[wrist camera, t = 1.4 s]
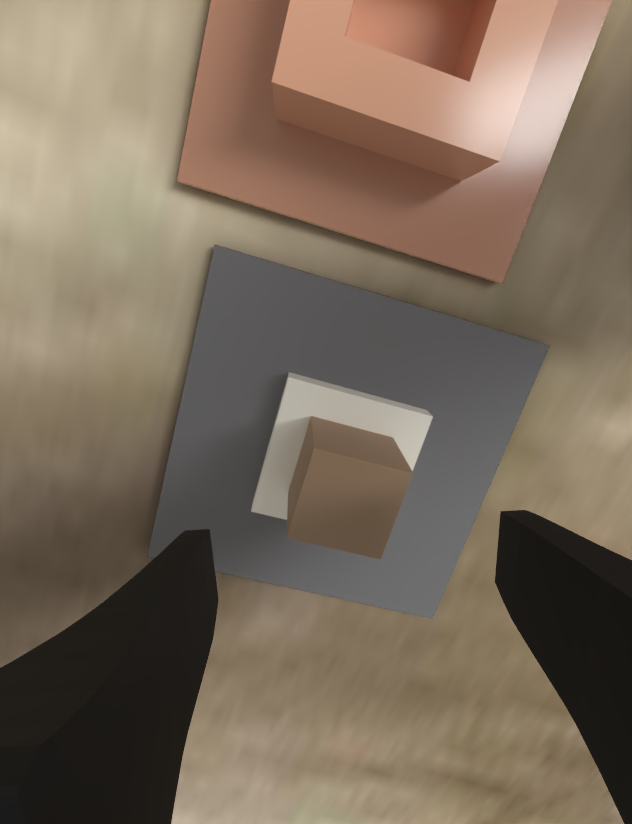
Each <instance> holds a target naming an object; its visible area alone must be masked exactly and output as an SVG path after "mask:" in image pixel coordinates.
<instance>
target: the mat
mask: <svg viewBox="0 0 632 824" xmlns="http://www.w3.org/2000/svg"><path fill="white" fill-rule="evenodd" d="M548 349H549V345H546V344H543V343H539V342H536V341H533V340H529V339H526V338H523V337H519V336H516V335H513V334H509V333H506V332H503V331H499V330H496V329H493V328H490V327H486V326H483V325H480V324H476V323H473V322H470V321H466V320H463V319H460V318H456V317H453V316H450V315H446V314H443V313H440V312H436V311H433V310H430V309H427V308H423V307H420V306H417V305H413V304H410V303H407V302H403V301H400V300H397V299H393V298H390V297H387V296H383V295H380V294H377V293H374V292H370V291H367V290H364V289H360V288H357V287H354V286H350V285H347V284H344V283H340V282H337V281H334V280H330V279H327V278H324V277H321V276H317V275H314V274H311V273H307V272H304V271H301V270H297V269H294V268H291V267H287V266H284V265H281V264H277V263H274V262H271V261H268V260H264V259H261V258H258V257H254V256H251V255H248V254H244V253H241V252H238V251H234V250H231V249H228V248H224V247H221V246H218V245H215V246H214V250H213V255H212V259H211V264H210V269H209V273H208V278H207V282H206V287H205V292H204V296H203V301H202V306H201V310H200V315H199V319H198V324H197V329H196V333H195V338H194V342H193V347H192V352H191V356H190V361H189V365H188V370H187V375H186V379H185V384H184V388H183V393H182V398H181V402H180V407H179V412H178V416H177V421H176V425H175V430H174V435H173V439H172V444H171V448H170V453H169V458H168V462H167V467H166V471H165V476H164V481H163V485H162V490H161V495H160V499H159V504H158V508H157V513H156V518H155V522H154V527H153V531H152V536H151V541H150V545H149V550H148V554H147V557H152V558H155V557H156V556H158V555H159V554H160V553H161V552H162V551H163V550H164V549H165V548H166V547H167V546H168V545H169V544H170V543H171V542H172V541H173V540H175V539H176V538H177V537H178V536H179V535H180V534H181V533H182V532H184V531H185V530H201V529H210V535H211V543H212V552H213V560H214V568H215V571H216V572H221V573H225V574H230V575H234V576H239V577H243V578H248V579H253V580H257V581H262V582H266V583H271V584H276V585H280V586H285V587H289V588H294V589H298V590H303V591H308V592H312V593H317V594H321V595H326V596H330V597H335V598H340V599H344V600H349V601H353V602H358V603H363V604H367V605H372V606H376V607H381V608H385V609H390V610H395V611H399V612H404V613H408V614H413V615H418V616H422V617H427V618H431V619H432V618H433V616H434V614H435V611H436V609H437V607H438V604H439V602H440V600H441V597H442V595H443V593H444V590H445V588H446V586H447V583H448V581H449V579H450V576H451V574H452V572H453V569H454V567H455V565H456V562H457V560H458V558H459V555H460V553H461V551H462V548H463V546H464V544H465V542H466V539H467V537H468V535H469V532H470V530H471V528H472V525H473V523H474V521H475V518H476V516H477V514H478V511H479V509H480V507H481V504H482V502H483V500H484V497H485V495H486V493H487V490H488V488H489V486H490V483H491V481H492V479H493V476H494V474H495V472H496V470H497V467H498V465H499V463H500V460H501V458H502V456H503V453H504V451H505V449H506V446H507V444H508V442H509V439H510V437H511V435H512V432H513V430H514V428H515V425H516V423H517V421H518V418H519V416H520V414H521V411H522V409H523V407H524V404H525V402H526V400H527V398H528V395H529V393H530V391H531V388H532V386H533V384H534V381H535V379H536V377H537V374H538V372H539V370H540V367H541V365H542V363H543V360H544V358H545V356H546V353H547V351H548ZM289 372H290V373H294V374H298V375H301V376H305V377H309V378H312V379H316V380H319V381H323V382H327V383H330V384H334V385H338V386H341V387H345V388H349V389H352V390H356V391H360V392H363V393H367V394H370V395H374V396H378V397H381V398H385V399H389V400H392V401H396V402H400V403H403V404H407V405H411V406H414V407H418V408H421V409H425V410H427V411H428V412H429V413H430V414H431V415H432V416H433V418H432V421H431V424H430V426H429V429H428V431H427V434H426V437H425V439H424V442H423V445H422V447H421V450H420V453H419V455H418V458H417V461H416V463H415V466H414V469H413V471H412V472H413V475H412V478H411V481H410V483H409V486H408V489H407V491H406V494H405V497H404V499H403V502H402V504H401V507H400V510H399V512H398V515H397V518H396V520H395V523H394V526H393V528H392V531H391V534H390V536H389V539H388V542H387V544H386V547H385V549H384V552H383V555H382V557H381V559H376V558H372V557H368V556H363V555H359V554H355V553H350V552H346V551H342V550H338V549H333V548H329V547H325V546H320V545H316V544H312V543H307V542H303V541H299V540H294V539H290V538H287V520H285V519H281V518H276V517H272V516H268V515H264V514H259V513H255V512H251V509H252V503H253V499H254V495H255V492H256V488H257V484H258V481H259V477H260V474H261V470H262V467H263V463H264V459H265V456H266V452H267V449H268V445H269V441H270V438H271V434H272V431H273V427H274V424H275V420H276V416H277V413H278V409H279V406H280V402H281V398H282V395H283V391H284V388H285V384H286V380H287V377H288V373H289Z"/></svg>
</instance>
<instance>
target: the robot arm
mask: <svg viewBox="0 0 632 824" xmlns="http://www.w3.org/2000/svg"><path fill="white" fill-rule="evenodd" d="M495 583H496V585H497V588H498V590H499V592H500V595H501V597H502V599H503V602H504V604H505V606H506V608H507V610H508V612H509V614H510V617H511V619H512V620H513V622H514V624H515V625H516V627H517V629H518V630H519V632H520V634H521V635H522V637H523V639H524V640H525V642H526V643H527V645H528V647H529V648H530V650H531V651H532V653H533V655H534V656H535V658H536V659H537V661H538V663H539V664H540V666H541V667H542V669H543V671H544V672H545V674H546V675H547V677H548V679H549V680H550V682H551V683H552V685H553V687H554V688H555V690H556V691H557V693H558V695H559V696H560V698H561V699H562V701H563V703H564V704H565V706H566V708H567V709H568V711H569V713H570V715H571V716H572V718H573V720H574V722H575V723H576V725H577V727H578V729H579V731H580V733H581V735H582V737H583V739H584V741H585V743H586V745H587V747H588V749H589V751H590V753H591V755H592V757H593V759H594V761H595V763H596V765H597V767H598V769H599V771H600V773H601V775H602V777H603V779H604V781H605V783H606V786H607V788H608V790H609V792H610V794H611V796H612V798H613V800H614V802H615V805H616V807H617V809H618V811H619V813H620V815H621V817H622V819H623V822H624V824H632V560H630V559H628V558H625V557H623V556H621V555H619V554H617V553H615V552H612V551H610V550H608V549H606V548H604V547H602V546H600V545H598V544H596V543H594V542H592V541H590V540H588V539H586V538H584V537H582V536H580V535H578V534H576V533H574V532H572V531H570V530H568V529H566V528H564V527H562V526H560V525H557V524H555V523H553V522H551V521H549V520H547V519H545V518H543V517H541V516H539V515H536V514H534V513H532V512H529V511H526V510H518V511H501V515H500V527H499V539H498V551H497V564H496V576H495ZM217 606H218V593H217V585H216V576H215V568H214V560H213V552H212V543H211V535H210V529H201V530H185V531H184V532H182V533H181V534H180V535H179V536H178V537H177V538H176V539H175V540H173V541H172V542H171V543H170V544H169V545H168V546H167V547H166V548H165V549H164V550H163V551H162V552H161V553H160V554H159V555H158V556H156V557H155V558H154V559H153V560H152V561H151V562H150V563H149V564H148V565H147V566H146V567H144V568H143V569H142V570H141V571H140V572H139V573H138V574H137V575H136V576H134V577H133V578H132V579H131V580H130V581H128V582H127V583H126V584H125V585H124V586H122V587H121V588H120V589H119V590H117V591H116V592H115V593H114V594H113V595H111V596H110V597H109V598H108V599H107V600H105V601H104V602H103V603H102V604H100V605H99V606H98V607H96V608H95V609H94V610H92V611H91V612H90V613H88V614H87V615H85V616H84V617H83V618H81V619H80V620H78V621H77V622H75V623H74V624H72V625H71V626H69V627H68V628H67V629H65V630H64V631H62V632H61V633H59V634H57V635H56V636H54V637H53V638H51V639H49V640H48V641H46V642H44V643H43V644H41V645H39V646H38V647H36V648H34V649H32V650H31V651H29V652H27V653H26V654H24V655H22V656H21V657H19V658H17V659H16V660H14V661H12V662H10V663H9V664H7V665H5V666H3V667H1V668H0V824H171V820H172V814H173V808H174V802H175V796H176V790H177V785H178V779H179V773H180V767H181V761H182V756H183V751H184V747H185V742H186V738H187V734H188V730H189V726H190V722H191V719H192V715H193V711H194V708H195V704H196V700H197V696H198V693H199V689H200V685H201V682H202V678H203V674H204V671H205V667H206V663H207V659H208V656H209V652H210V648H211V644H212V640H213V635H214V628H215V621H216V614H217Z"/></svg>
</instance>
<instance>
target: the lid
mask: <svg viewBox="0 0 632 824" xmlns="http://www.w3.org/2000/svg"><path fill="white" fill-rule="evenodd" d="M432 418H433V416H432V415H431V414H430V413H429V412H428V411H427V410H425V409H421V408H418V407H414V406H411V405H407V404H403V403H400V402H396V401H392V400H389V399H385V398H381V397H378V396H374V395H370V394H367V393H363V392H360V391H356V390H352V389H349V388H345V387H341V386H338V385H334V384H330V383H327V382H323V381H319V380H316V379H312V378H309V377H305V376H301V375H298V374H294V373H290V372H289V373H288V377H287V380H286V384H285V388H284V391H283V395H282V398H281V402H280V406H279V409H278V413H277V416H276V420H275V424H274V427H273V431H272V434H271V438H270V441H269V445H268V449H267V452H266V456H265V459H264V463H263V467H262V470H261V474H260V477H259V481H258V484H257V488H256V492H255V495H254V499H253V503H252V509H251V512H255V513H259V514H264V515H268V516H272V517H276V518H281V519H285V520H287V538H290V539H294V540H299V541H303V542H307V543H312V544H316V545H320V546H325V547H329V548H333V549H338V550H342V551H346V552H350V553H355V554H359V555H363V556H368V557H372V558H376V559H381V557H382V555H383V552H384V549H385V547H386V544H387V542H388V539H389V536H390V534H391V531H392V528H393V526H394V523H395V520H396V518H397V515H398V512H399V510H400V507H401V504H402V502H403V499H404V497H405V494H406V491H407V489H408V486H409V483H410V481H411V478H412V475H413V472H412V471H413V469H414V466H415V463H416V461H417V458H418V455H419V453H420V450H421V447H422V445H423V442H424V439H425V437H426V434H427V431H428V429H429V426H430V424H431V421H432Z"/></svg>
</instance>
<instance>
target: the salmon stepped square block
mask: <svg viewBox="0 0 632 824" xmlns="http://www.w3.org/2000/svg"><path fill="white" fill-rule="evenodd" d="M611 3H612V0H211V3H210V8H209V13H208V19H207V24H206V29H205V35H204V40H203V45H202V51H201V56H200V61H199V66H198V72H197V77H196V82H195V88H194V93H193V98H192V104H191V109H190V114H189V119H188V125H187V130H186V135H185V141H184V146H183V151H182V156H181V162H180V167H179V172H178V178H177V181H178V182H180V183H182V184H185V185H188V186H191V187H194V188H197V189H201V190H204V191H207V192H210V193H213V194H217V195H220V196H223V197H226V198H229V199H232V200H236V201H239V202H242V203H245V204H248V205H252V206H255V207H258V208H261V209H264V210H267V211H271V212H274V213H277V214H280V215H283V216H286V217H290V218H293V219H296V220H299V221H302V222H306V223H309V224H312V225H315V226H318V227H321V228H325V229H328V230H331V231H334V232H337V233H340V234H344V235H347V236H350V237H353V238H356V239H360V240H363V241H366V242H369V243H372V244H375V245H379V246H382V247H385V248H388V249H391V250H394V251H398V252H401V253H404V254H407V255H410V256H414V257H417V258H420V259H423V260H426V261H429V262H433V263H436V264H439V265H442V266H445V267H448V268H452V269H455V270H458V271H461V272H464V273H468V274H471V275H474V276H477V277H480V278H483V279H487V280H490V281H493V282H496V283H503V281H504V279H505V276H506V273H507V271H508V268H509V266H510V263H511V261H512V258H513V255H514V253H515V250H516V248H517V245H518V242H519V240H520V237H521V235H522V232H523V230H524V227H525V224H526V222H527V219H528V217H529V214H530V212H531V209H532V206H533V204H534V201H535V199H536V196H537V193H538V191H539V188H540V186H541V183H542V181H543V178H544V175H545V173H546V170H547V168H548V165H549V163H550V160H551V157H552V155H553V152H554V150H555V147H556V144H557V142H558V139H559V137H560V134H561V132H562V129H563V126H564V124H565V121H566V119H567V116H568V114H569V111H570V108H571V106H572V103H573V101H574V98H575V95H576V93H577V90H578V88H579V85H580V83H581V80H582V77H583V75H584V72H585V70H586V67H587V65H588V62H589V59H590V57H591V54H592V52H593V49H594V47H595V44H596V41H597V39H598V36H599V34H600V31H601V28H602V26H603V23H604V21H605V18H606V16H607V13H608V10H609V8H610V5H611Z"/></svg>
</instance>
